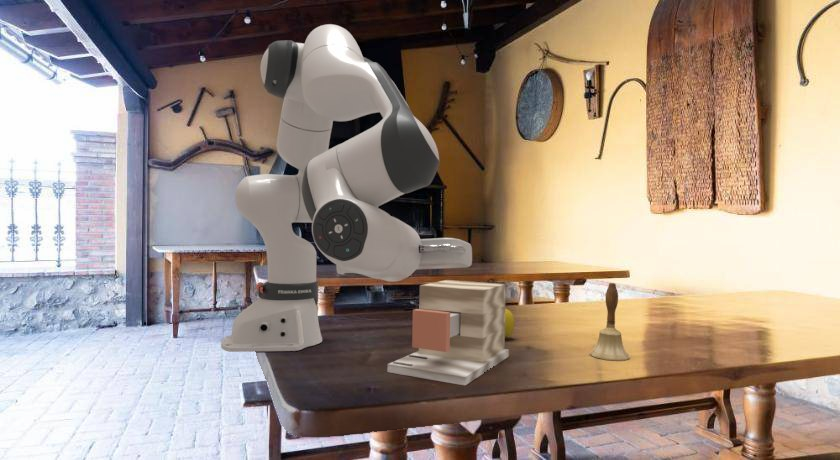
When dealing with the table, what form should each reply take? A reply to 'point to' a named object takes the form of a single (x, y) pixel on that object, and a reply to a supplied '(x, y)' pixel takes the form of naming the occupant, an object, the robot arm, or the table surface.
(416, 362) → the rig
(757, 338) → the table surface
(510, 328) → the lemon
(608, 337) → the hand bell
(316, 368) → the table surface
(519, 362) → the table surface
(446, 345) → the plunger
